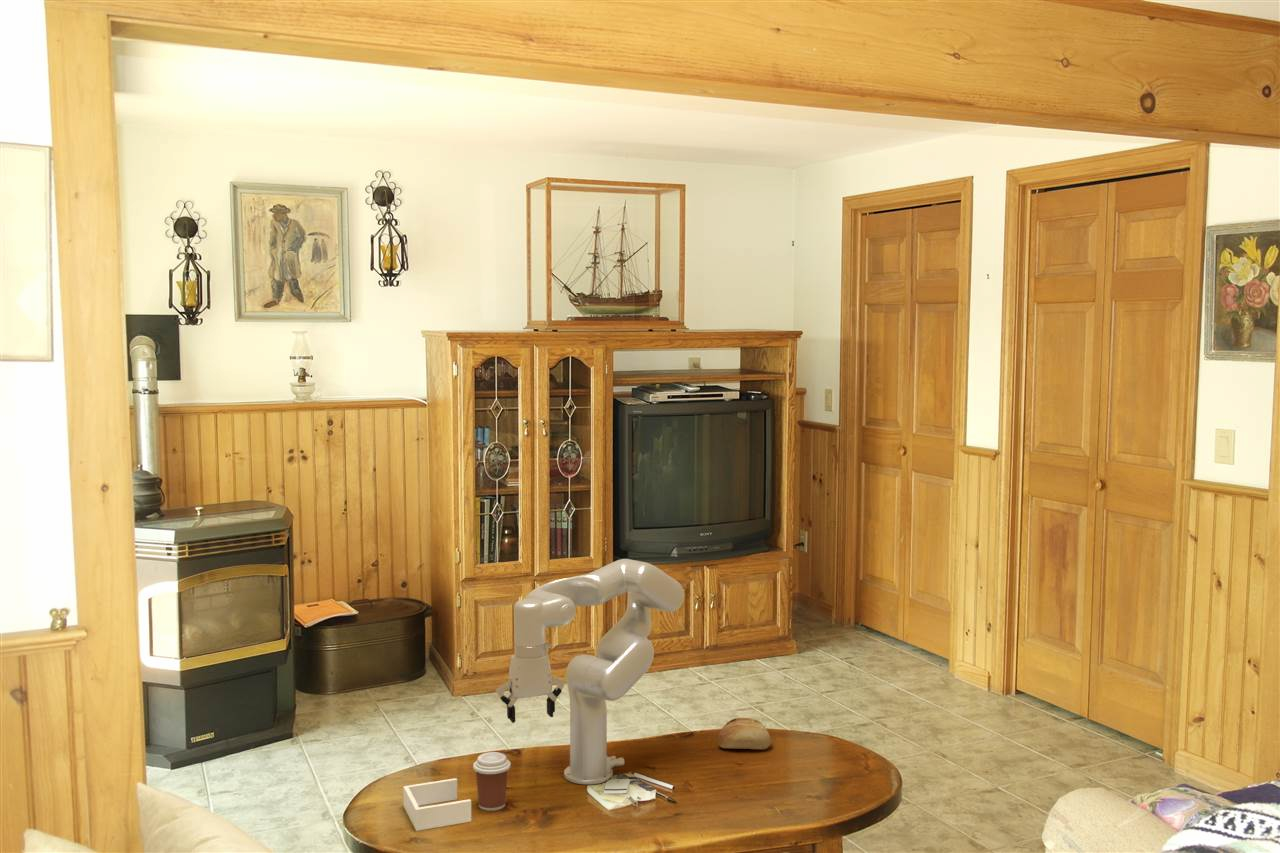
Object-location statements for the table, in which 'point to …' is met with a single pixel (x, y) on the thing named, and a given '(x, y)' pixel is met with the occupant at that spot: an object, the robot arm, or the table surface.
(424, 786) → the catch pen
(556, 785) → the table surface
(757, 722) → the bread roll
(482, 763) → the coffee cup
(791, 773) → the table surface
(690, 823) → the table surface
